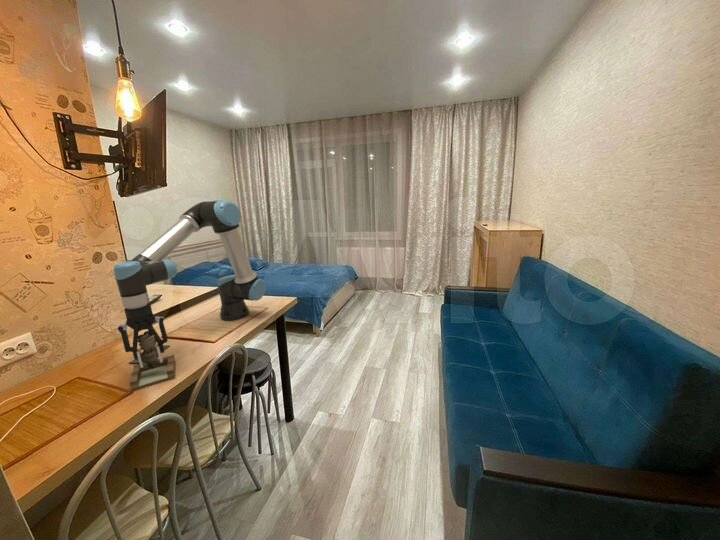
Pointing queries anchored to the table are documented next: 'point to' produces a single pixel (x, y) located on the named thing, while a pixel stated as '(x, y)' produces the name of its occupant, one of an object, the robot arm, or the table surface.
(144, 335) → the stone figurine
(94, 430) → the table surface
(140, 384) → the brown picture frame
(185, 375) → the table surface
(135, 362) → the smartphone
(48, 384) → the table surface
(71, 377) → the table surface
